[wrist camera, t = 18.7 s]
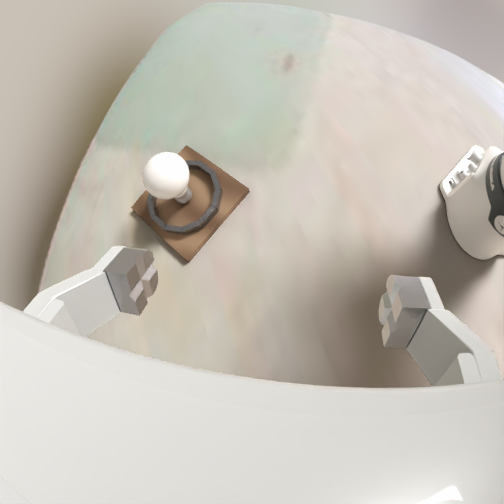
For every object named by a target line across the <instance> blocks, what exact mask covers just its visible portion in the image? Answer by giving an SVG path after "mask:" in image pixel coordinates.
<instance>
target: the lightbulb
mask: <svg viewBox="0 0 504 504" xmlns="http://www.w3.org/2000/svg"><path fill="white" fill-rule="evenodd" d="M142 177H143V183H144V186H145V188H146V190H147V191H148V192H149V193H150V194H151V195H152V196H154V197H156V198H159V199H172V198H175V199H176V200H177V201H178V202H179V203H182V204H184V203H187V202H189V201H190V199H191V198H192V191H191V190H190V188H189V187H188V182H189V178H190V172H189V168H188V165H187V163H186V162H185V160H184V159H183V158H182V157H181V156H179V155H177V154H175V153H172V152H162V153H159V154H156V155H155V156H153V157H152V158H151V159H150V160H149V161H148V162H147V163H146V165H145V167H144V170H143V176H142Z"/></svg>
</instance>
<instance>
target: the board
mask: <svg viewBox="0 0 504 504" xmlns="http://www.w3.org/2000/svg"><path fill="white" fill-rule="evenodd" d="M178 155H179V156H181V157H182V158H183V159H184V160H191V161H201V162H203V163H204V164H206V165H207V166H208V167H210V168H211V169H213V170H214V171H215V173H216V174H217V176H218V179H219V182H220V185H221V188H222V191H223V195H222V199H221V203H220V208H219V211H218V213H217V214H216V215H215V216H214V217H213V218H212V220H211V221H210V222H209V223H208V224H207V225H206V227H205V226H204V228H202V229H199V230H197V231H194V232H192V233H190V234H187V235H183V234H176V233H169V232H167V231H165V230H164V229H163V228H161V227H160V226H159V225H158V224H157V223H156V222H155V221H154V220H153V219H152V218H151V216H150V212H149V207H148V203H147V201H148V200H147V199H148V195H149V192H148V191H147V190H146V191H145V192H144V193H143V194H142V195H141V196H140V198H139V199H138V200H137V201H136V202H135V204H134V205H133V206H132V207H131V208H132V209H133V210H134V211H135V212H136V213H137V214H138V215H139V216H140V217H141V218H142V219H143V220H144V221H145V222H146V223H147V224H148V225H149V226H150V227H152V228H153V229H154V230H155V231H156V232H157V233H158V234H159V235H160V236H161V237H162V238H163V239H164V240H165V241H166V242H167V243H168V244H169V245H170V246H172V247H173V248H174V249H175V250H176V251H177V252H178V253H179V254H180V255H181V256H182V257H183V258H184V259H186V260H187V261H189V262H190V261H191V260H192V258H193V257H194V256H195V255H196V254H197V252H198V251H199V250H200V249H201V248H202V246H203V245H204V244H205V243H206V242H207V241H208V239H209V238H210V237H211V236H212V235H213V233H214V232H215V231H216V230H217V229H218V228H219V226H220V225H221V224H222V223H223V222H224V221H225V219H226V218H227V217H228V216H229V215H230V214H231V213H232V211H233V210H234V209H235V208H236V207H237V206H238V204H239V203H240V202H241V201H242V200H243V199H244V198H245V197H246V195H247V194H248V193H249V192H250V191H249V189H248V188H247V187H246V186H244V185H243V184H241V183H240V182H239V181H237V180H236V179H234V178H233V177H232V176H230V175H229V174H227V173H226V172H225V171H223V170H222V169H220V168H219V167H217V166H216V165H215V164H213V163H212V162H210V161H209V160H207V159H206V158H204V157H203V156H201V155H200V154H199V153H197V152H196V151H194V150H193V149H191V148H190V147H188V146H187V145H186V146H185V147H184V148H183V149H182V150H181V151H180V153H179V154H178ZM189 172H190V178H189V182H188V187H189V188H190V190H191V191H192V198H191V199H190V201H189V202H187V203H184V204H182V203H179V202H178V201H177V200H176V199H175V198H172V199H159V198H157V201H156V206H157V210H158V214H159V218H160V219H161V220H163V221H164V222H165V223H166V224H167V225H174V226H181V227H183V226H185V225H187V224H190V223H192V222H195V221H197V220H199V219H200V218H201V217H202V216H203V214H204V213H205V212H206V211H207V210H208V209H209V208H210V206H211V204H212V200H213V196H214V191H215V187H214V184H213V181H212V178H211V177H210V176H209V175H207V174H206V173H205V172H203V171H202V170H194V169H189Z"/></svg>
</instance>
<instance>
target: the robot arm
mask: <svg viewBox="0 0 504 504" xmlns="http://www.w3.org/2000/svg"><path fill="white" fill-rule="evenodd" d="M449 183H450V184H451V185H450V184H449ZM440 190H441V193H442V195H443V197H444V199H445V202H446V209H447V217H448V222H449V225H450V228H451V231H452V233H453V235H454V237H455V239H456V240H457V242H458V243H459V245H460V246H461V247H462V248H463V250H464V251H466V252H467V253H468V254H469V255H471V256H472V257H474V258H477V259H481V260H486V259H490V258H492V257H494V256H496V255H504V152H503V151H502V150H500V149H498V148H497V147H494V146H489V147H488V148H487V149H486V150H485V149H483V148H481V147H479V146H476V145H474V146H473V147H471V148H470V149H469V151H468V152H467V153H466V154H465V155H464V156H463V158H462V159H461V160H460V161H459V162H458V163H457V165H456V166H455V167H454V168H453V169H452V170H451V171H450V172H449V174H448V175H447V176H446V177H445V178H444V179H443V180H442V181H441V183H440ZM153 261H154V257H153V253H152V252H151V251H150V250H148V249H141V248H134V247H126V246H118V245H116V246H113V247H112V248H111V249H110V250H109V251H108V252H107V253H106V254H105V255H104V256H103V257H102V258H101V260H100V261H99V262H98V263H97V264H96V265H95V266H94V267H93V268H92V269H87V270H85V271H83V272H81V273H79V274H77V275H74V276H72V277H70V278H68V279H66V280H64V281H62V282H60V283H58V284H56V285H54V286H51V287H49V288H47V289H45V290H43V291H41V292H39V293H38V295H37V296H36V297H35V298H34V299H33V300H32V302H31V303H30V304H29V305H28V306H27V307H26V308H25V310H24V311H23V312H21V311H19V310H17V309H15V308H13V307H11V306H9V305H7V304H4V303H2V302H0V504H504V378H503V377H502V374H501V371H500V368H499V365H498V362H497V360H496V357H495V354H494V351H493V350H492V349H491V348H490V347H489V346H488V345H487V344H486V343H485V342H484V341H483V340H481V339H480V338H479V337H478V336H477V335H476V334H475V333H474V332H473V331H472V330H471V329H469V328H468V327H467V326H466V325H465V324H464V323H463V322H462V321H461V320H459V319H458V318H457V317H456V316H455V315H454V314H453V313H451V312H450V311H449V310H445V308H444V306H443V304H442V301H441V299H440V296H439V294H438V292H437V289H436V287H435V285H434V283H433V280H432V279H431V278H430V277H410V276H398V275H390V276H389V277H388V279H387V282H386V288H387V291H386V292H385V293H384V294H383V295H382V297H381V300H380V303H379V322H380V323H381V324H382V325H383V326H384V327H383V329H382V331H381V333H382V339H383V346H384V347H387V348H405V349H406V350H407V351H408V353H409V354H410V355H411V357H412V358H413V360H414V361H415V362H416V364H417V365H418V366H419V368H420V369H421V370H422V372H423V373H424V375H425V376H426V377H427V379H428V380H429V382H430V383H431V384H432V386H430V387H407V388H362V387H337V386H321V385H309V384H298V383H288V382H280V381H271V380H264V379H257V378H250V377H244V376H237V375H231V374H226V373H220V372H215V371H210V370H205V369H200V368H195V367H190V366H186V365H181V364H177V363H173V362H169V361H165V360H161V359H157V358H153V357H149V356H145V355H142V354H138V353H134V352H131V351H128V350H124V349H121V348H117V347H114V346H111V345H108V344H105V343H102V342H99V341H96V340H93V339H90V338H87V336H89V335H90V334H91V333H93V332H94V331H96V330H97V329H98V328H100V327H101V326H103V325H104V324H105V323H107V322H108V321H110V320H111V319H112V318H114V317H115V316H117V315H118V314H120V312H124V313H129V314H134V315H139V316H140V314H141V313H142V311H143V310H144V308H145V306H146V305H147V303H148V302H147V298H148V297H150V296H151V295H153V294H154V292H155V290H156V288H157V284H158V274H157V270H156V269H155V267H154V266H153V265H152V263H153Z"/></svg>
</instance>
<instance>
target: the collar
mask: <svg viewBox="0 0 504 504" xmlns="http://www.w3.org/2000/svg"><path fill="white" fill-rule="evenodd" d="M185 162H186V163H187V165H188V168H189V169H194V170H202V171H203V172H205V173H206V174H207V175H209V176H210V177H211V178H212V181H213V184H214V187H215V191H214V196H213V200H212V204H211V206H210V208H209V209H208V210H207V211H206V212H205V213H204V214H203V216H202V217H201V218H200V219H199V220H197V221H195V222H192V223H190V224H187V225H185V226H183V227H181V226H174V225H167V224H166V223H165V222H164V221H163V220H161V219H160V218H159V214H158V210H157V206H156V201H157V198H156V197H154V196H152V195H151V194H150V193H149V195H148V199H147V200H148V201H147V203H148V207H149V212H150V216H151V218H152V219H153V220H154V221H155V222H156V223H157V224H158V225H159V226H160V227H161V228H163V229H164V230H165V231H167V232H169V233H176V234H183V235H187V234H190V233H192V232H194V231H197V230H199V229H202V228H204V226H205V227H206V225H207V224H208V223H209V222H210V221H211V220H212V218H213V217H214V216H215V215H216V214H217V213H218V211H219V208H220V203H221V199H222V195H223V191H222V188H221V185H220V182H219V179H218V176H217V174H216V173H215V171H214V170H213V169H211V168H210V167H208V166H207V165H206V164H204V163H203V162H201V161H191V160H185Z"/></svg>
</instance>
